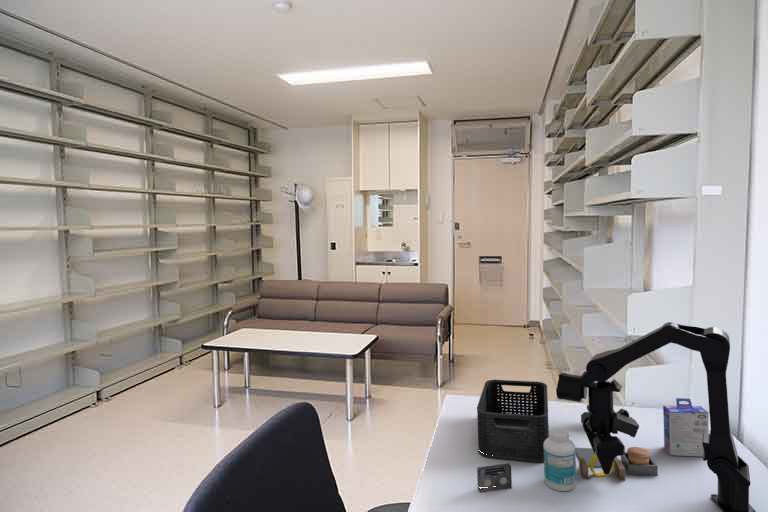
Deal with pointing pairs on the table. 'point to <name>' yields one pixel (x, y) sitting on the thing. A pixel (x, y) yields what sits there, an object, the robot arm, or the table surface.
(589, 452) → the slate mat
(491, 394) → the storage bin
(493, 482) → the mini dv tape
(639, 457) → the tan domed cylinder
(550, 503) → the table surface
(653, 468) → the grey square tray
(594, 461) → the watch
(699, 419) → the ink cartridge box
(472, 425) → the table surface
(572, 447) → the pill bottle
